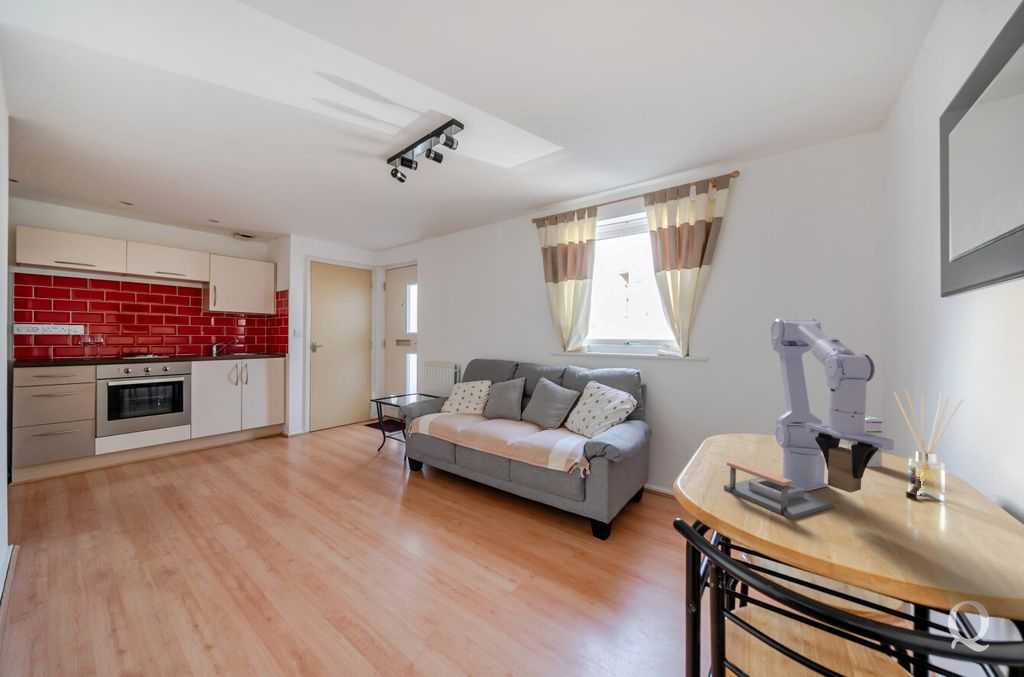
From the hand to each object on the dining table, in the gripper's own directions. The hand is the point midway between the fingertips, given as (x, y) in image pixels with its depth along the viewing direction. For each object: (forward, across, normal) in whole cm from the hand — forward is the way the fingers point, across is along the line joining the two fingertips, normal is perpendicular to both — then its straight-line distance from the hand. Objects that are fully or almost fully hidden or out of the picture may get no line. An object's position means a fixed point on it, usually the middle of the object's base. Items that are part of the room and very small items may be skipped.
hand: (844, 473), depth 80 cm
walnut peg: (+3, 0, 0) cm, 3 cm away
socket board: (+10, -12, -3) cm, 16 cm away
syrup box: (+10, -17, +48) cm, 52 cm away
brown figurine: (+10, 0, +31) cm, 33 cm away
